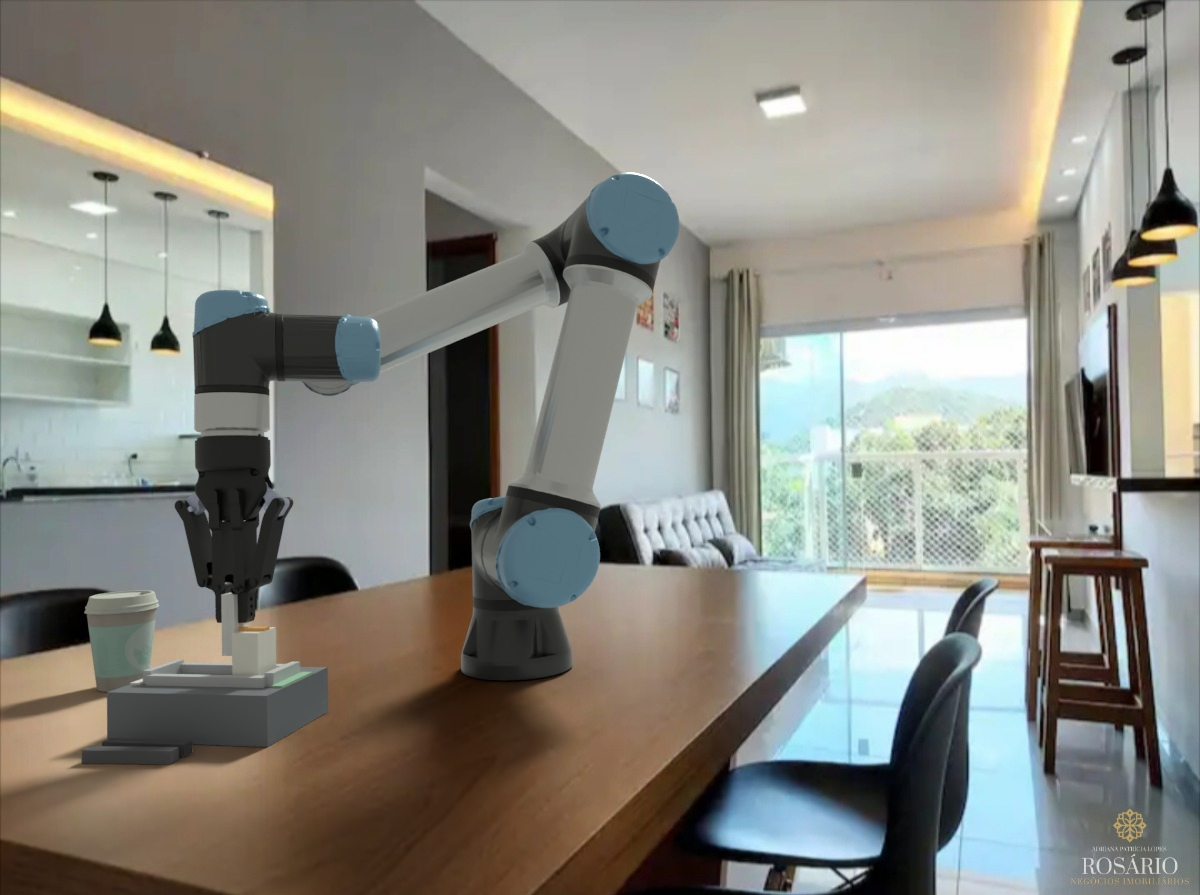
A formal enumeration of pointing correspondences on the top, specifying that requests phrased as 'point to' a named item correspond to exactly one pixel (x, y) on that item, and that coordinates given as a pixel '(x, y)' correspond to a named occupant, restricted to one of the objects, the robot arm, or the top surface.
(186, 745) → the dark grey long bar
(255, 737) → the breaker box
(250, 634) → the white upright block
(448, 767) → the top surface
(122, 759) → the dark gray bar
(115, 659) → the coffee cup
